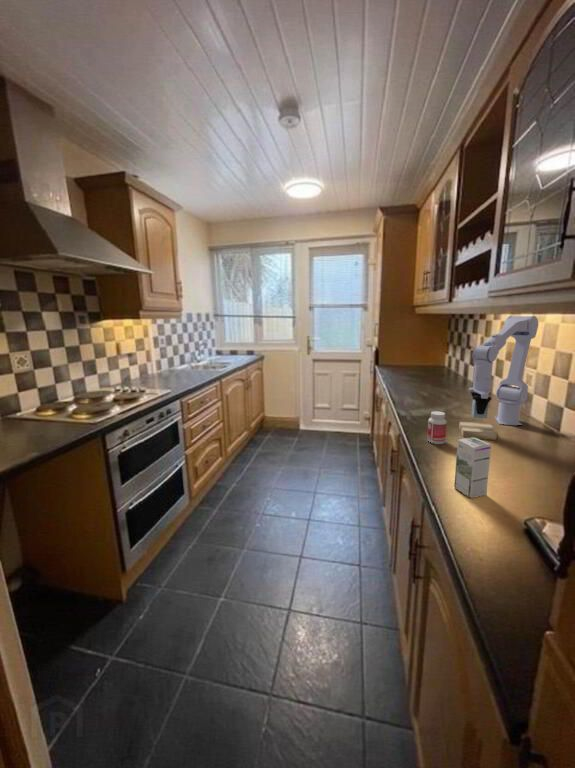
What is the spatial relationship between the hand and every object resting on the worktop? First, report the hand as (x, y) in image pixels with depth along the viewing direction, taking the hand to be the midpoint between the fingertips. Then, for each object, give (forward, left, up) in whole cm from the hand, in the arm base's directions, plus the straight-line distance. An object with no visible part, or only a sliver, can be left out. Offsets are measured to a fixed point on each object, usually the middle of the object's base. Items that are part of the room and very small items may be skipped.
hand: (479, 412), depth 130 cm
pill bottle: (+13, -15, -9) cm, 22 cm away
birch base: (0, 0, -9) cm, 9 cm away
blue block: (0, 0, -2) cm, 2 cm away
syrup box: (+48, -9, -9) cm, 50 cm away
